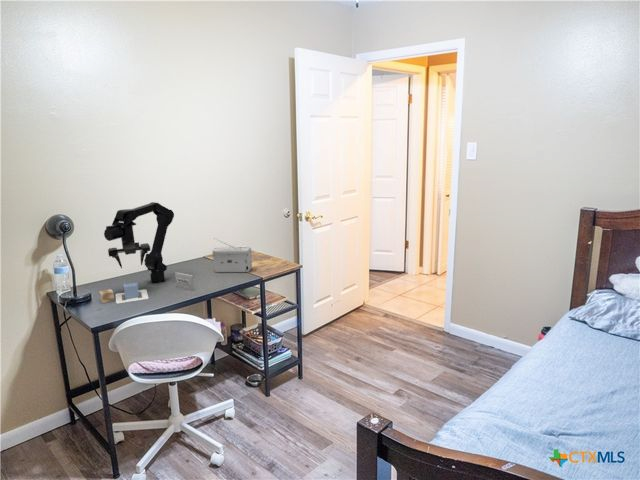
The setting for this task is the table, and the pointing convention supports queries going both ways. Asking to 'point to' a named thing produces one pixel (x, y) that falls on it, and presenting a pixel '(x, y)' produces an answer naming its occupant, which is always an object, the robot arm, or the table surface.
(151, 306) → the table surface
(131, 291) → the slate-blue cube
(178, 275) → the cassette
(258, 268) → the table surface
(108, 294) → the oak block
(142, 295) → the letter plate
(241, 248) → the stereo radio cassette player
